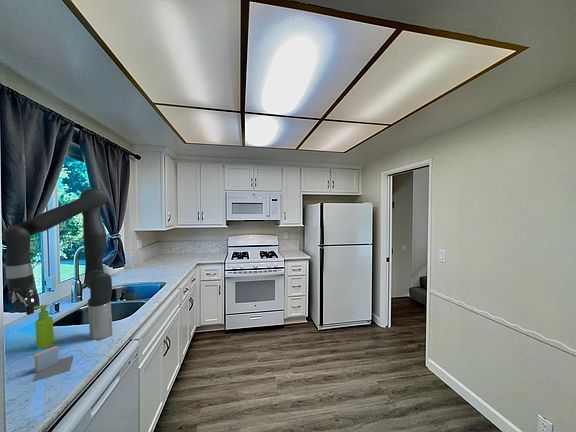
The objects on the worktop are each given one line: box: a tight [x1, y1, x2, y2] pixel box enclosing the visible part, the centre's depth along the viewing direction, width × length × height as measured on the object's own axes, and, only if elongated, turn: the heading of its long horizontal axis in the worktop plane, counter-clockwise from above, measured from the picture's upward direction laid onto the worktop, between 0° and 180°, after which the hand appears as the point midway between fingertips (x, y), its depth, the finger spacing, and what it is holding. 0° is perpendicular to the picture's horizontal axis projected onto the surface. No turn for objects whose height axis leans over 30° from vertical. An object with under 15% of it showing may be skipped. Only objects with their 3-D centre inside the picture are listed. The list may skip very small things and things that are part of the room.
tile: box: [33, 345, 59, 373], centre depth 103 cm, size 2×7×7 cm, turn 155°
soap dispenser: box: [34, 304, 55, 350], centre depth 118 cm, size 6×7×20 cm
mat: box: [31, 355, 74, 383], centre depth 103 cm, size 11×12×1 cm
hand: (24, 312), depth 104 cm, fingers open, 8 cm apart
